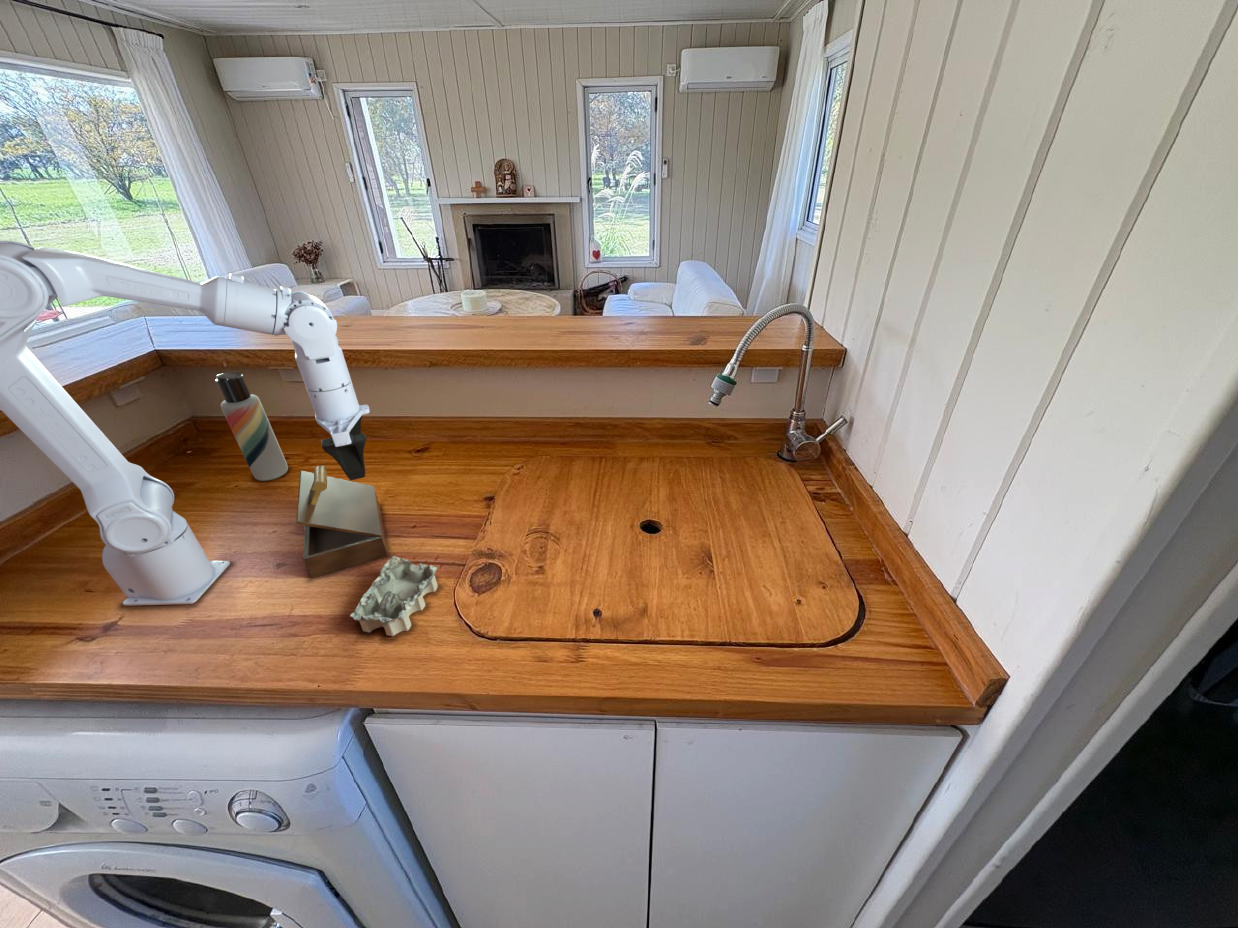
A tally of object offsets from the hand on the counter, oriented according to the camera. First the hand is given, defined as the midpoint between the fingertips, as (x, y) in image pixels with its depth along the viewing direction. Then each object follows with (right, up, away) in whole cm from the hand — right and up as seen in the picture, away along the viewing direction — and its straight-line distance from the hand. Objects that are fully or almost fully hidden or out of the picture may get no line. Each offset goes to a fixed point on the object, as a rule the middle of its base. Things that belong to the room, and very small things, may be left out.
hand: (356, 465), depth 77 cm
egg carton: (+12, -19, -10) cm, 24 cm away
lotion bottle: (-26, -2, +18) cm, 31 cm away
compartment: (-2, -12, +1) cm, 12 cm away
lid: (-2, -6, -2) cm, 6 cm away
